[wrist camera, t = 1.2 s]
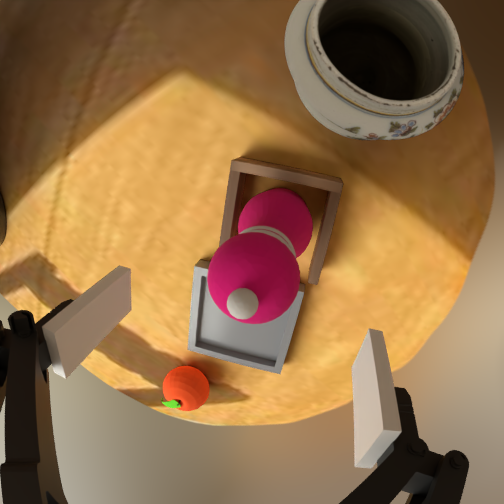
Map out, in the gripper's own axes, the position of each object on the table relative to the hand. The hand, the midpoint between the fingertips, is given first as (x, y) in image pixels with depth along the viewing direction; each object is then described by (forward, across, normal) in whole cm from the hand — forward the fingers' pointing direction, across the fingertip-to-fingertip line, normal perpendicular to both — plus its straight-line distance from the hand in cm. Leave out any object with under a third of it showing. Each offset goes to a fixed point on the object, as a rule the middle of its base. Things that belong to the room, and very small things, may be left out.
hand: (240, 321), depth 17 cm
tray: (+21, -2, -14) cm, 25 cm away
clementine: (+21, -9, -27) cm, 36 cm away
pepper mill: (+21, 0, 0) cm, 21 cm away
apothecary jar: (+21, +4, +16) cm, 27 cm away
